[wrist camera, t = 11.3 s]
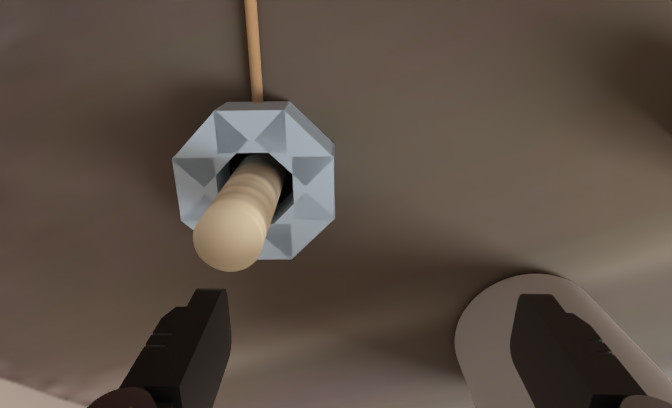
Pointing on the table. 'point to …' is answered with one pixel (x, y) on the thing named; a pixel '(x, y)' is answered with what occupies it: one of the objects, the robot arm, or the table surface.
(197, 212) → the bead
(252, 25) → the wooden stick
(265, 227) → the dowel
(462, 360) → the cylinder vase
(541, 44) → the table surface
